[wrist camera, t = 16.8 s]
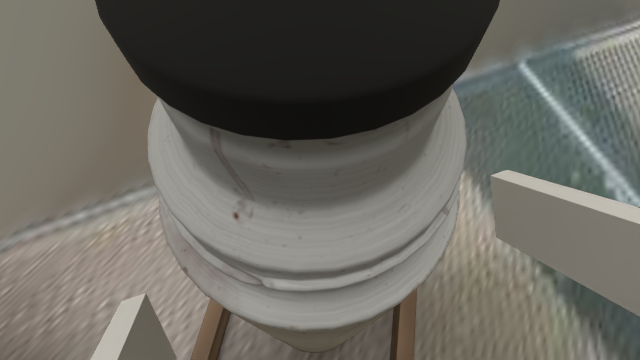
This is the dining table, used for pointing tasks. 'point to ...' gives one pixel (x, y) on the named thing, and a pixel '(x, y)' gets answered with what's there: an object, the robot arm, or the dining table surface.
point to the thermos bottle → (304, 149)
